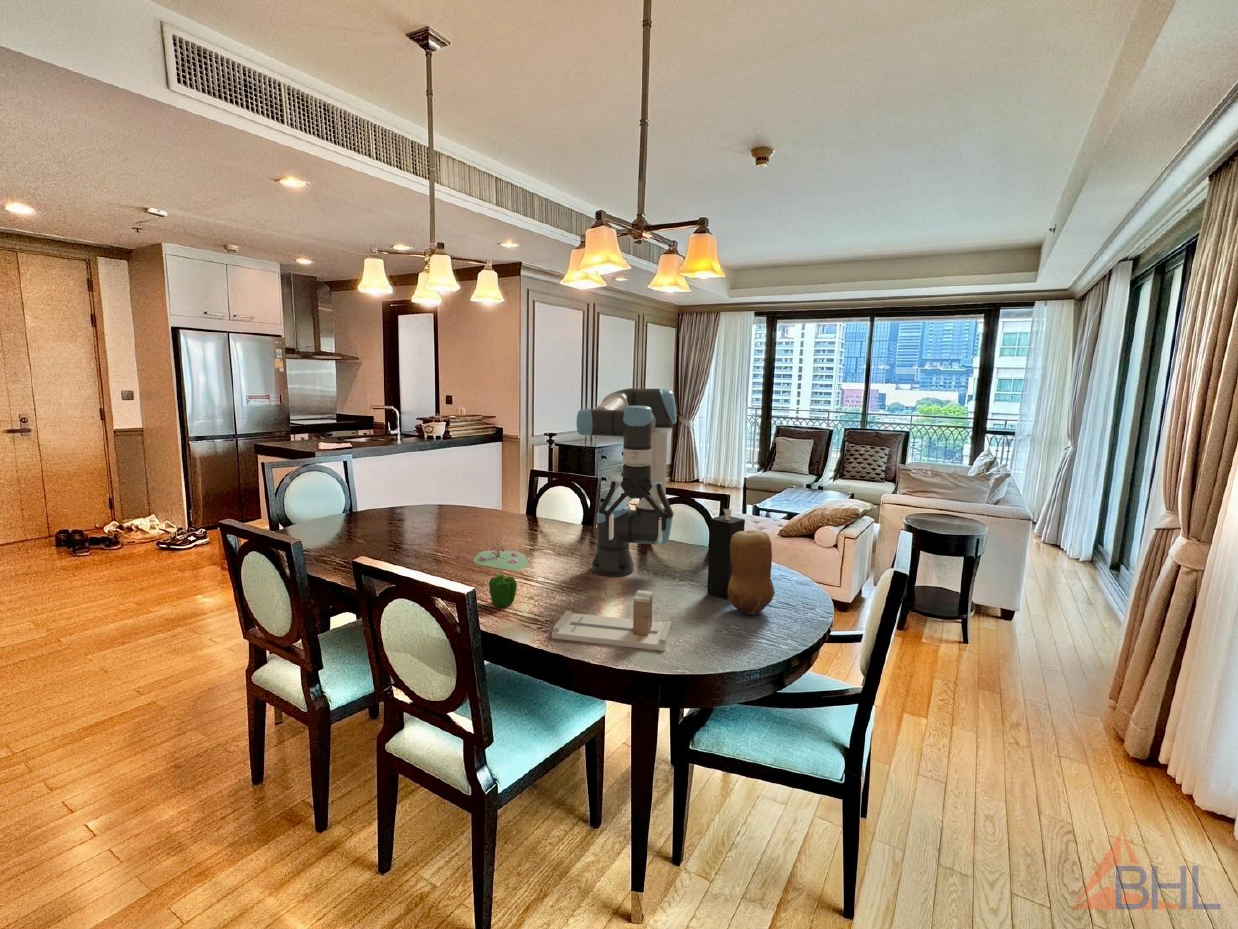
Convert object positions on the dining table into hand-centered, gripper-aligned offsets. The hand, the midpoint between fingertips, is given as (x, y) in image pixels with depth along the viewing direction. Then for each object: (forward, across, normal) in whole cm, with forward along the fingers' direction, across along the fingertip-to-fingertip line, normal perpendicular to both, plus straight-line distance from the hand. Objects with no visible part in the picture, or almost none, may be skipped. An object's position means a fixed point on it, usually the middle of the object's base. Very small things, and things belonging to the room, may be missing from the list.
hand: (635, 540), depth 163 cm
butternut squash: (+25, +32, +15) cm, 43 cm away
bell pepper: (+25, -41, +4) cm, 48 cm away
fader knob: (+22, +4, -8) cm, 24 cm away
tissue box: (+25, +24, +30) cm, 46 cm away
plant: (+27, -57, +45) cm, 77 cm away
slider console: (+24, -4, -8) cm, 26 cm away
